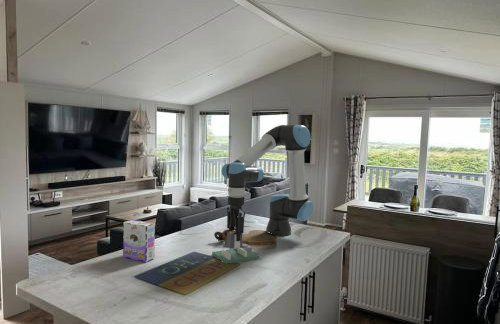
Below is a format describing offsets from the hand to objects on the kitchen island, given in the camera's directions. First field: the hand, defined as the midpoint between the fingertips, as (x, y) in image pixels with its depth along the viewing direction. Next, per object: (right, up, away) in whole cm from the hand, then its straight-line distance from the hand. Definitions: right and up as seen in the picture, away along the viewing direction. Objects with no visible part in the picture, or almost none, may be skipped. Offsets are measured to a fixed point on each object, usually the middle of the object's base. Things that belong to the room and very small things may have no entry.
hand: (234, 246), depth 157 cm
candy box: (-43, -5, -4) cm, 44 cm away
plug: (0, 0, 0) cm, 0 cm away
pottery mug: (-6, -4, +23) cm, 24 cm away
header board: (+1, -6, +3) cm, 7 cm away
